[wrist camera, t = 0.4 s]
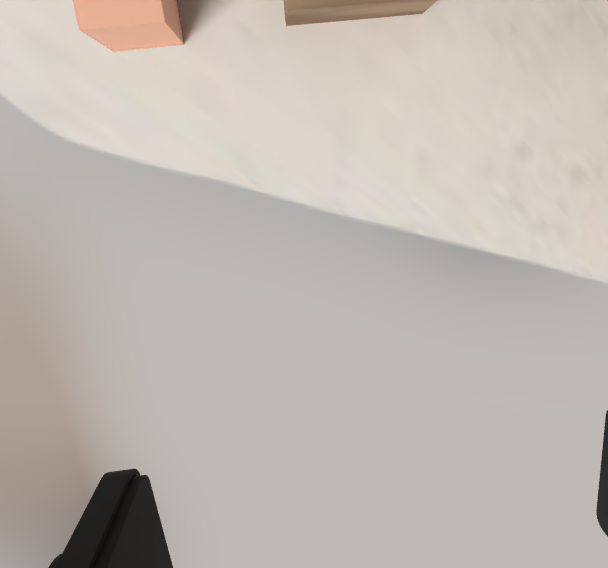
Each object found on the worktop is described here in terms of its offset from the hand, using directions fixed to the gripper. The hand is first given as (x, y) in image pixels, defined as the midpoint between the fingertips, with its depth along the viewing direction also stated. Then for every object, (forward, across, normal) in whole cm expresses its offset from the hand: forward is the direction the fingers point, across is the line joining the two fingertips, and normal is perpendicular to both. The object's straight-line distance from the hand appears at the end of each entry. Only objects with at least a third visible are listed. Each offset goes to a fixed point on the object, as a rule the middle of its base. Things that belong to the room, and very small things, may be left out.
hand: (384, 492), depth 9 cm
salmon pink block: (+29, +9, -17) cm, 35 cm away
